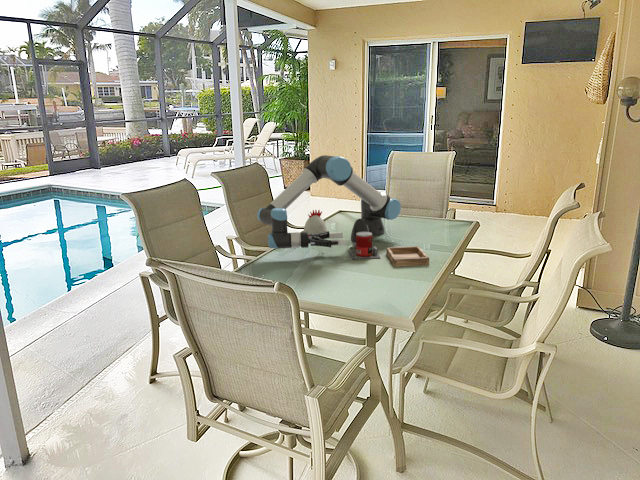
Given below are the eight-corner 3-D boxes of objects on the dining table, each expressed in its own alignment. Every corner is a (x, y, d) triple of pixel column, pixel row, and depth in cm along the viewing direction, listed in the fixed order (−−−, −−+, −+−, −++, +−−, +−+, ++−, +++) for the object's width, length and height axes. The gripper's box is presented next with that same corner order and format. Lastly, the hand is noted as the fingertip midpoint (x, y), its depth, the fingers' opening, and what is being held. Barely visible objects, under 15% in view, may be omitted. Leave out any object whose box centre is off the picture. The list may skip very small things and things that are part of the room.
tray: (386, 254, 242) (386, 247, 241) (418, 252, 242) (418, 246, 241) (394, 266, 222) (394, 259, 221) (429, 264, 223) (429, 257, 222)
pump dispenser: (373, 245, 258) (373, 217, 254) (366, 250, 249) (366, 221, 245) (355, 243, 262) (354, 215, 258) (347, 248, 253) (347, 220, 249)
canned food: (371, 257, 237) (371, 235, 234) (355, 257, 238) (354, 235, 236) (373, 253, 244) (373, 231, 241) (357, 252, 246) (357, 231, 243)
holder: (349, 251, 248) (349, 245, 247) (376, 250, 248) (376, 244, 247) (352, 259, 234) (351, 252, 233) (380, 258, 235) (380, 251, 234)
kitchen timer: (330, 236, 279) (329, 210, 275) (306, 238, 276) (305, 212, 272) (324, 231, 292) (323, 206, 288) (301, 233, 289) (300, 208, 285)
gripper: (300, 241, 251) (341, 239, 251) (300, 254, 227) (346, 253, 227) (299, 226, 249) (341, 225, 250) (300, 238, 225) (346, 237, 225)
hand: (343, 238), depth 238 cm, fingers open, 13 cm apart
